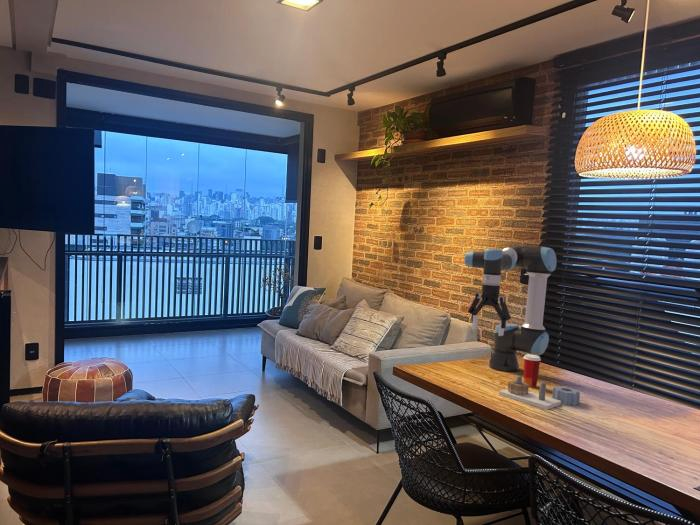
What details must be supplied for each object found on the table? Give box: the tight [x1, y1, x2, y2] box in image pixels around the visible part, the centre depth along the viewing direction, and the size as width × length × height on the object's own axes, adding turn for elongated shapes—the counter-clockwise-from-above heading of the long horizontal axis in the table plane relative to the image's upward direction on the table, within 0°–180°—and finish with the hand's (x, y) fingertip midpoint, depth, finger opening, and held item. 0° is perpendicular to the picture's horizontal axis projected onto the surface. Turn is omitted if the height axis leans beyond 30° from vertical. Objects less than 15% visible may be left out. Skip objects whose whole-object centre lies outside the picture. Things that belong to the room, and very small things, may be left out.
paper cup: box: [522, 353, 542, 388], centre depth 238 cm, size 8×8×14 cm
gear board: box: [498, 375, 562, 411], centre depth 217 cm, size 12×22×8 cm, turn 41°
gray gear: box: [551, 385, 581, 406], centre depth 217 cm, size 10×10×5 cm
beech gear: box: [507, 380, 530, 395], centre depth 221 cm, size 8×8×4 cm
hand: (487, 332), depth 224 cm, fingers open, 13 cm apart
